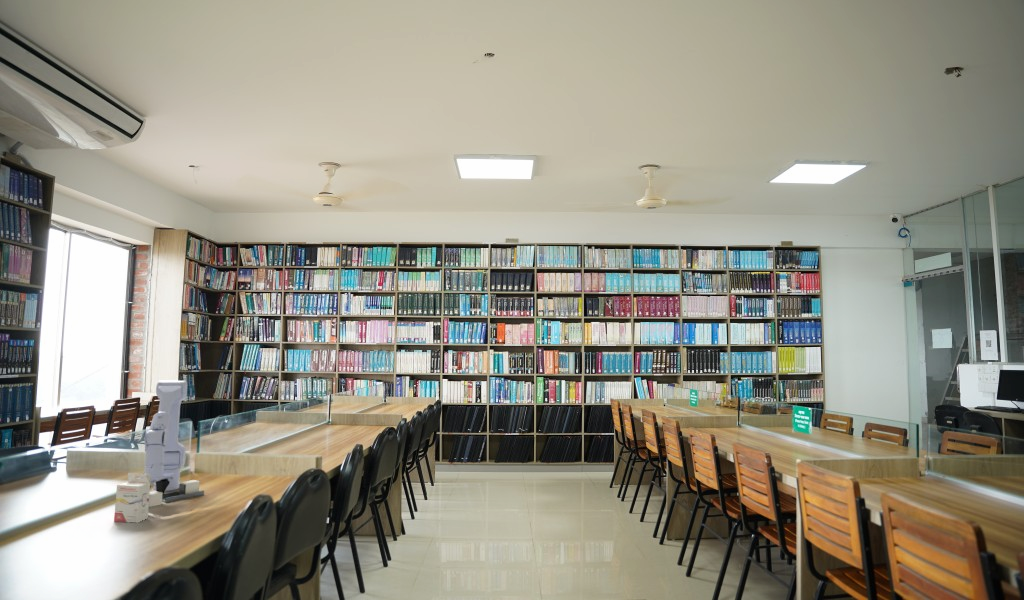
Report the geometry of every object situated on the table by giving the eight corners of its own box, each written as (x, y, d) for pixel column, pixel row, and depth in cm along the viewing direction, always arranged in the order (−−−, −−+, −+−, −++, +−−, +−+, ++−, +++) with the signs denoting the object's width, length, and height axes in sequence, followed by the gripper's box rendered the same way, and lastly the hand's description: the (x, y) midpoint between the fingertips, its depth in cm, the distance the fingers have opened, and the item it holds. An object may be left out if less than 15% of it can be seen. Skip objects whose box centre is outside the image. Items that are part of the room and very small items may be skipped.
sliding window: (153, 502, 212) (154, 495, 212) (191, 494, 224) (191, 487, 224) (167, 505, 207) (167, 498, 208) (204, 497, 219) (205, 490, 219)
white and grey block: (198, 494, 220) (199, 481, 220) (183, 497, 215) (184, 483, 215) (192, 493, 222) (193, 479, 222) (177, 496, 217) (178, 482, 217)
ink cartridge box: (112, 522, 187) (116, 475, 189) (124, 517, 192) (127, 472, 194) (137, 523, 186) (140, 476, 188) (148, 518, 191) (151, 473, 193)
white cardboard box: (149, 509, 202) (150, 494, 203) (141, 507, 205) (142, 492, 205) (161, 507, 206) (162, 492, 206) (153, 504, 208) (154, 490, 209)
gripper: (138, 468, 198) (135, 509, 197) (181, 462, 211) (178, 500, 209) (128, 466, 202) (125, 506, 201) (170, 459, 214) (168, 497, 213)
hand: (151, 503), depth 205 cm, fingers closed on white cardboard box, 4 cm apart
